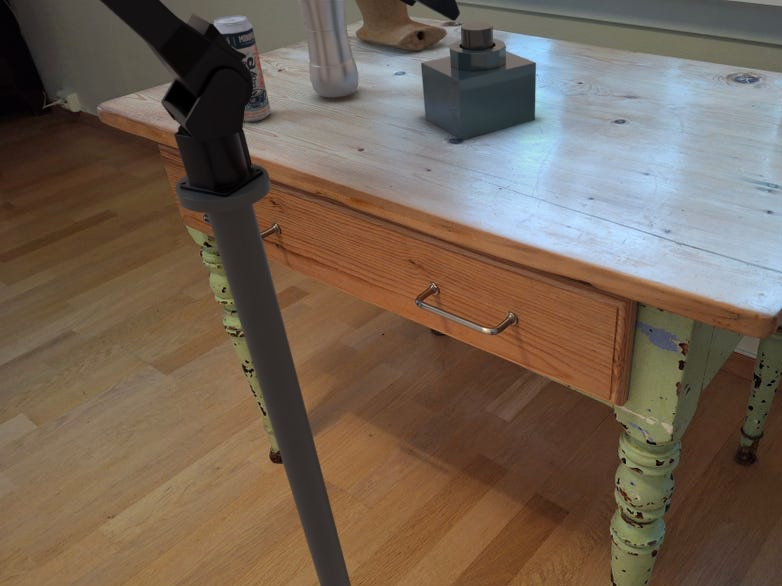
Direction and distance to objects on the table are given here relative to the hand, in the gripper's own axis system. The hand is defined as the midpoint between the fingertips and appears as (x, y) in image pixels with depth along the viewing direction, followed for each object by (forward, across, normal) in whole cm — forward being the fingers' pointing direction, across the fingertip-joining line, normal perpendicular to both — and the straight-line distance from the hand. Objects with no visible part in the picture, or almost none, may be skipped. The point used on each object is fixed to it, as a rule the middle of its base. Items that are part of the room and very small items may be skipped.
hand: (434, 9), depth 80 cm
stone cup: (+19, +37, -2) cm, 42 cm away
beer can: (-1, +19, +22) cm, 30 cm away
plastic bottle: (+7, +20, +13) cm, 25 cm away
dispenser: (+14, -1, +5) cm, 15 cm away
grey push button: (+7, -1, -1) cm, 7 cm away
